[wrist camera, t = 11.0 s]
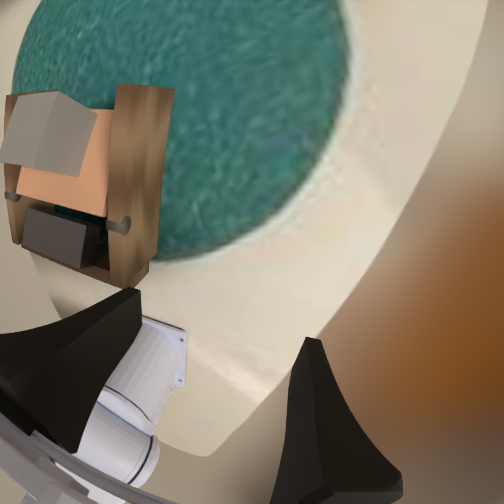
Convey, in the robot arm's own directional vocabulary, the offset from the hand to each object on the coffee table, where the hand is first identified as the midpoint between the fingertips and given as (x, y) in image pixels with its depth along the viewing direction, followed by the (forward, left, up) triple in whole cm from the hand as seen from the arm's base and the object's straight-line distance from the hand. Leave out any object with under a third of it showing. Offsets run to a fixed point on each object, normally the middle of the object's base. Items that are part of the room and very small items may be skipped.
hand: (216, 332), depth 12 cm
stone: (+5, +14, -7) cm, 17 cm away
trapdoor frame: (+2, +14, -10) cm, 18 cm away
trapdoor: (+2, +14, -8) cm, 16 cm away
